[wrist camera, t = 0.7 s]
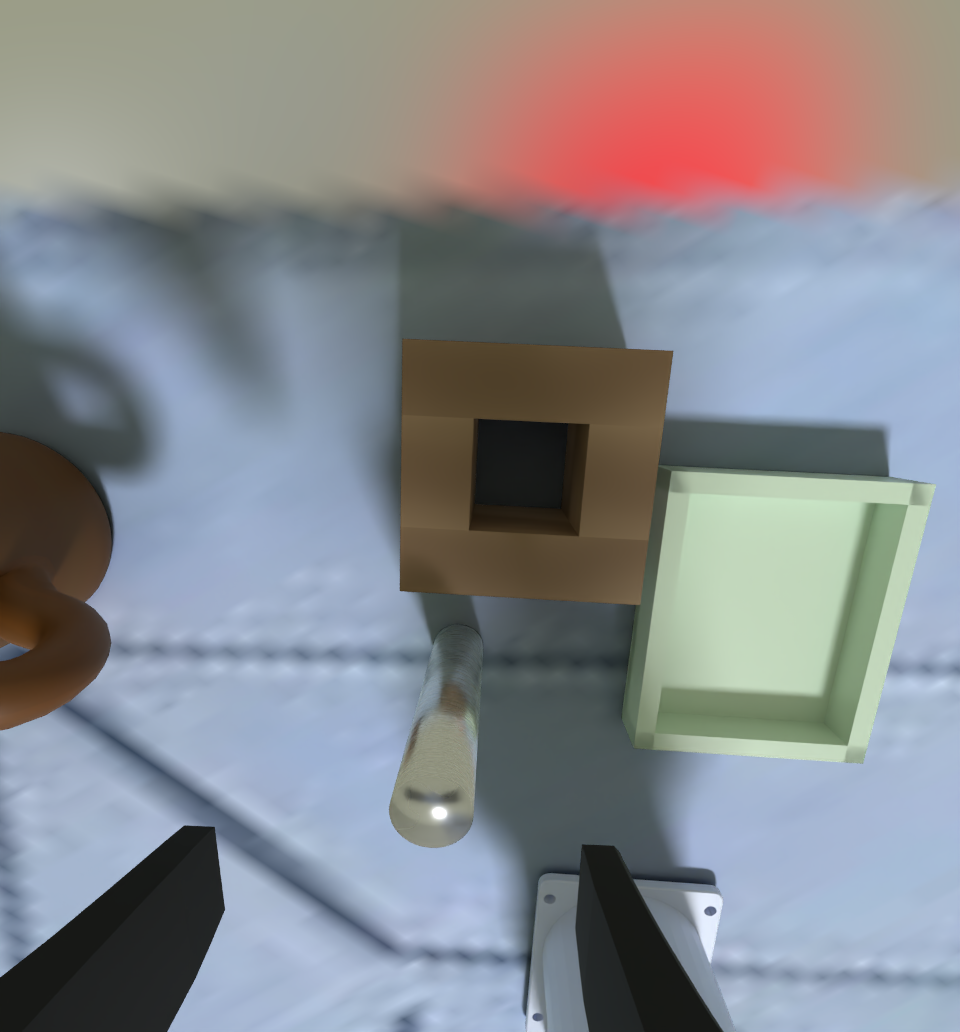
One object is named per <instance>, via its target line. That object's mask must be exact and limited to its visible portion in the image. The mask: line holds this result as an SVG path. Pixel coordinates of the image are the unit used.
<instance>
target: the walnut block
mask: <svg viewBox="0 0 960 1032" xmlns="http://www.w3.org/2000/svg"><path fill="white" fill-rule="evenodd" d="M672 357H673V351H664V350H641V349H619V348H597V347H575V346H552V345H530V344H508V343H486V342H463V341H441V340H419V339H403V341H402V434H401V527H400V591H407V592H424V593H441V594H458V595H476V596H493V597H510V598H527V599H544V600H561V601H579V602H596V603H613V604H630V605H640V602H641V595H642V587H643V579H644V572H645V564H646V556H647V549H648V541H649V533H650V526H651V518H652V510H653V503H654V495H655V487H656V480H657V472H658V464H659V457H660V449H661V441H662V434H663V426H664V418H665V411H666V403H667V395H668V388H669V380H670V372H671V365H672ZM479 419H495V420H515V421H535V422H556V423H568V432H567V444H566V455H565V467H564V479H563V490H562V502H561V509H558V508H540V507H521V506H502V505H483V504H475V495H476V473H477V452H478V430H479Z"/></svg>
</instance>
